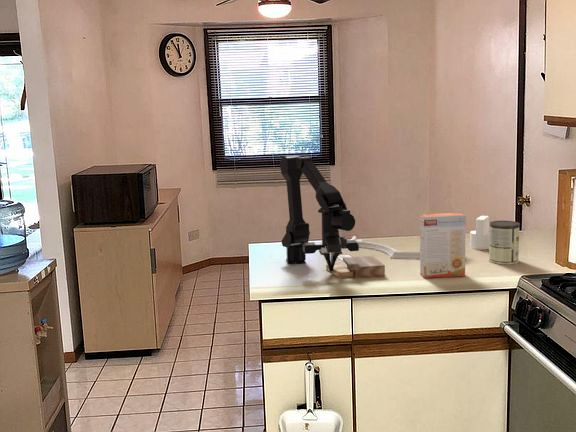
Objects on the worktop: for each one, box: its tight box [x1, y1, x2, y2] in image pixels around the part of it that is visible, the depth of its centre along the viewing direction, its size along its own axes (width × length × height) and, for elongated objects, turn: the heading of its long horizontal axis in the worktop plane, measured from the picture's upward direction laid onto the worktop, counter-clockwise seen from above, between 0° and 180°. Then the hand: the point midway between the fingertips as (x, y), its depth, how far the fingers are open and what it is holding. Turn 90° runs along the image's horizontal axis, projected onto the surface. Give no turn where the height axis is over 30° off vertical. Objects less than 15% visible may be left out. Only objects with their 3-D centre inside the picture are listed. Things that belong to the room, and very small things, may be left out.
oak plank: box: [326, 262, 355, 279], centre depth 214 cm, size 12×5×2 cm, turn 19°
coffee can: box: [488, 220, 521, 265], centre depth 221 cm, size 10×10×14 cm
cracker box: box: [419, 212, 467, 279], centre depth 205 cm, size 14×6×21 cm, turn 92°
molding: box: [349, 235, 420, 260], centre depth 245 cm, size 42×12×3 cm, turn 33°
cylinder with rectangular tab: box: [469, 215, 490, 250], centre depth 244 cm, size 9×9×12 cm
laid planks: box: [342, 255, 386, 279], centre depth 213 cm, size 12×14×4 cm
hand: (331, 271), depth 212 cm, fingers closed
